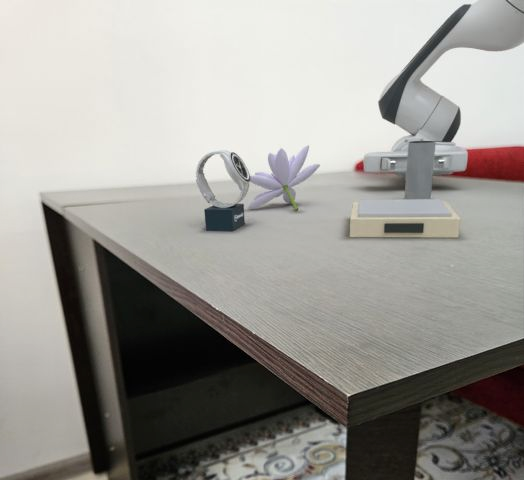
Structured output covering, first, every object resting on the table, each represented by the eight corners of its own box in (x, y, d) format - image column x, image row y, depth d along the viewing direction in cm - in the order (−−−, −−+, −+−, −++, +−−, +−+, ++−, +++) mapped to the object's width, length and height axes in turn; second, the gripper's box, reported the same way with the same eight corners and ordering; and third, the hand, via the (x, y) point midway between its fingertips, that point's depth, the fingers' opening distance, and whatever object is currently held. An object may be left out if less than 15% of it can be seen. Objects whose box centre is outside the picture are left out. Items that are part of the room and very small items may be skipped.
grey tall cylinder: (429, 204, 92) (434, 142, 88) (402, 204, 93) (407, 142, 89) (431, 200, 96) (436, 140, 91) (405, 200, 97) (410, 141, 93)
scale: (444, 218, 80) (446, 198, 79) (458, 238, 68) (461, 214, 66) (352, 218, 83) (353, 198, 82) (349, 237, 70) (350, 215, 69)
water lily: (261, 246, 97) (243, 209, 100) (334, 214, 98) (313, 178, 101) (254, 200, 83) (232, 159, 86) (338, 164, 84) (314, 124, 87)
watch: (245, 231, 77) (241, 151, 72) (195, 230, 79) (188, 153, 75) (256, 224, 82) (253, 149, 77) (209, 223, 84) (203, 150, 79)
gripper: (363, 144, 113) (362, 148, 101) (462, 141, 109) (474, 145, 97) (362, 175, 116) (361, 182, 103) (459, 173, 112) (470, 180, 100)
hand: (416, 164), depth 100 cm, fingers open, 8 cm apart
